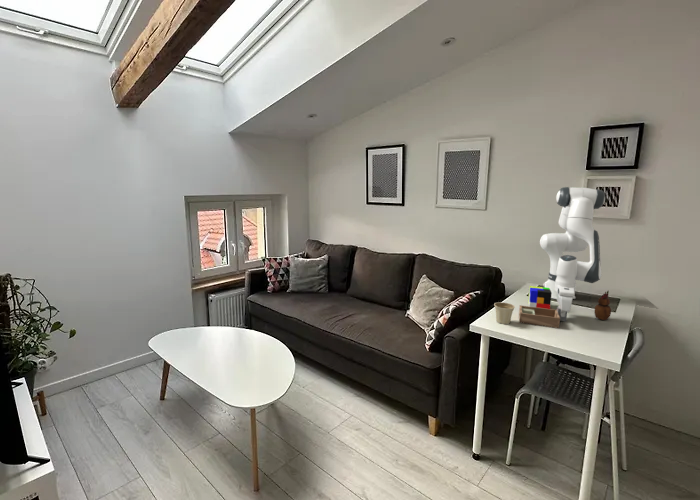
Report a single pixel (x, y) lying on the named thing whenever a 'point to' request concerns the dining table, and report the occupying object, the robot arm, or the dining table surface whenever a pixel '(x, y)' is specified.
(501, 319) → the flower pot
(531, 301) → the puzzle toy
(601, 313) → the wooden figurine
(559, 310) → the connector
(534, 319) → the walled box
